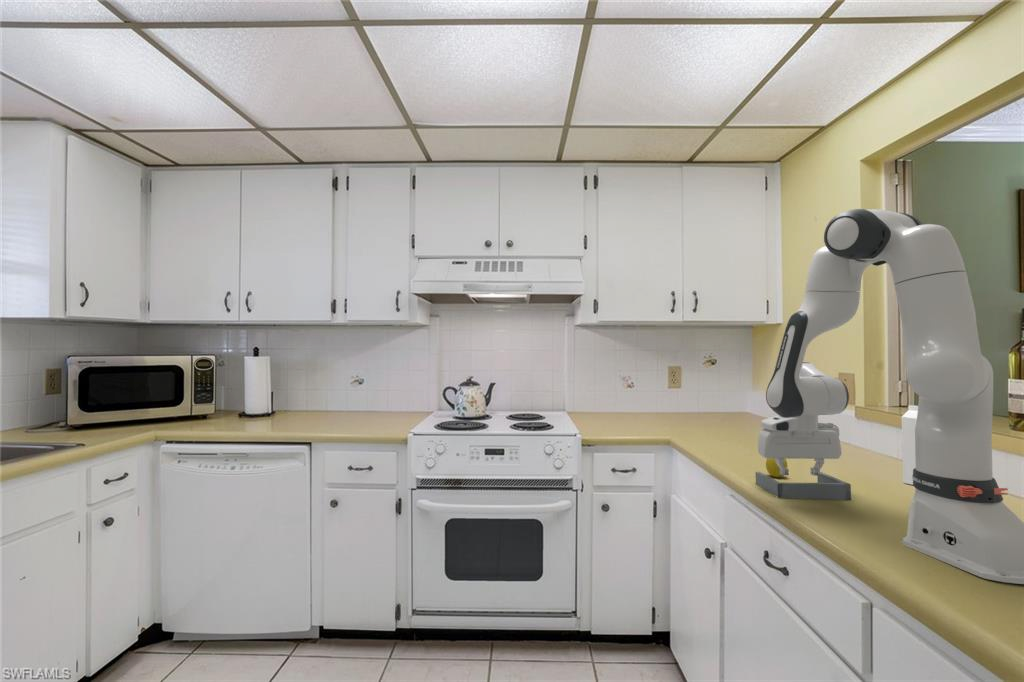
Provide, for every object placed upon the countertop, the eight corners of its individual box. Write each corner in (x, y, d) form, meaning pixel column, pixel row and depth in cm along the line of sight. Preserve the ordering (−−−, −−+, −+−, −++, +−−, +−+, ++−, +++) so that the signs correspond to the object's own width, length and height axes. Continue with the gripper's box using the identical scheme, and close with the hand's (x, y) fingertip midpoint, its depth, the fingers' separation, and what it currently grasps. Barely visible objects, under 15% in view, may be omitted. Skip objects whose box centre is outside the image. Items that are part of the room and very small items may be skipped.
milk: (926, 488, 129) (924, 407, 129) (902, 482, 135) (900, 405, 135) (941, 486, 131) (939, 406, 131) (917, 480, 137) (915, 404, 137)
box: (851, 500, 119) (850, 484, 119) (777, 499, 120) (777, 483, 120) (822, 486, 131) (821, 472, 131) (755, 486, 132) (755, 471, 132)
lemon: (790, 482, 136) (790, 454, 136) (769, 481, 137) (768, 453, 137) (784, 477, 141) (783, 450, 141) (763, 476, 142) (763, 449, 143)
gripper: (831, 421, 129) (832, 472, 129) (754, 421, 130) (755, 471, 130) (846, 424, 123) (847, 478, 122) (765, 424, 124) (766, 477, 123)
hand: (799, 474), depth 126 cm, fingers open, 7 cm apart
